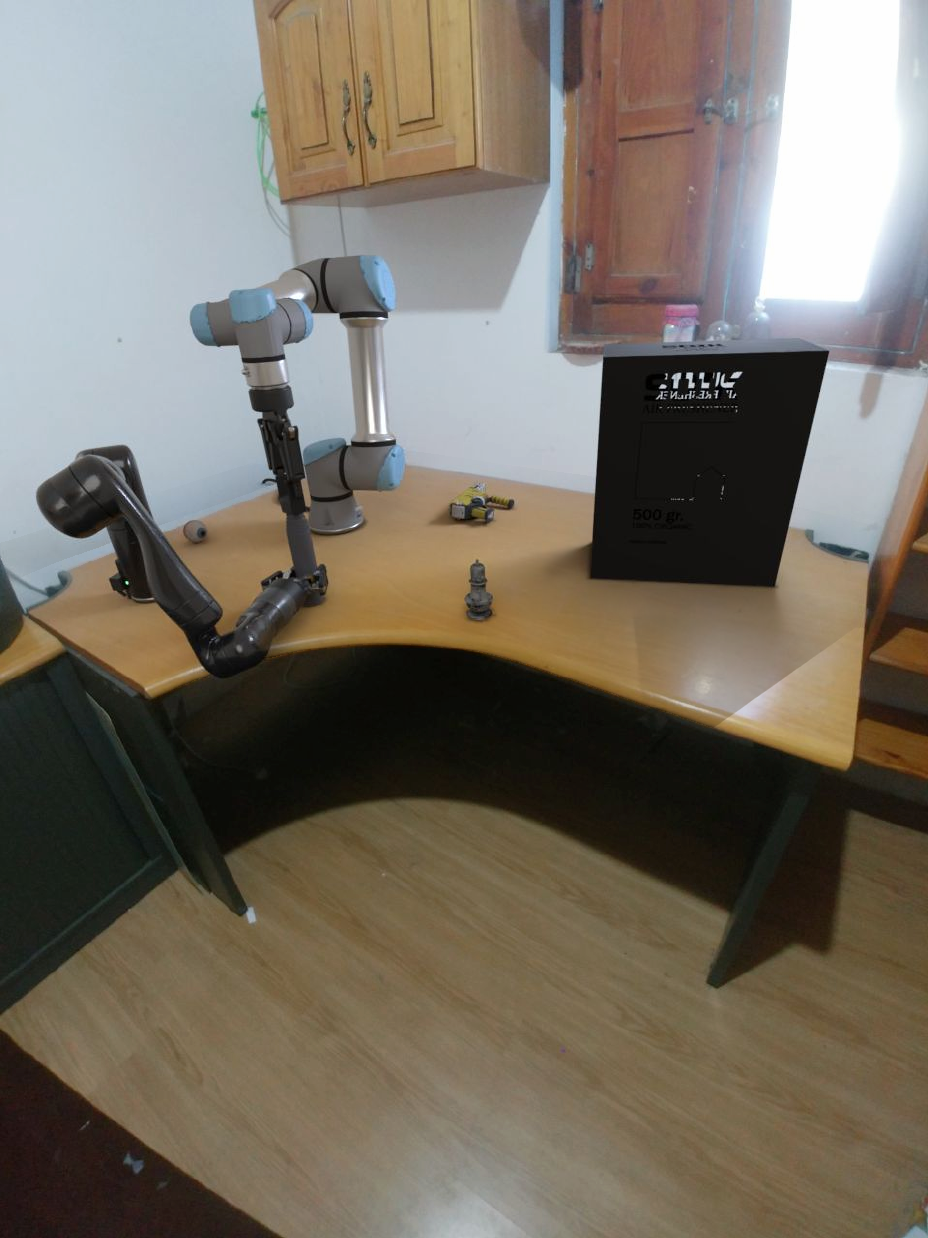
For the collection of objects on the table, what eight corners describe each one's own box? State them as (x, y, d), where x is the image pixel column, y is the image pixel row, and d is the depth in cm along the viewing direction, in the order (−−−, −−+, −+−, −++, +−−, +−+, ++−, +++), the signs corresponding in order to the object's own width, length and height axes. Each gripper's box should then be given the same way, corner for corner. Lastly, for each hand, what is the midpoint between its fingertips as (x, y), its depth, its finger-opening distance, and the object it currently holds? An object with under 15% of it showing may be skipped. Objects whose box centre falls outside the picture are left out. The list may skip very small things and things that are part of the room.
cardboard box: (755, 547, 142) (798, 337, 120) (774, 586, 125) (829, 350, 102) (592, 542, 150) (603, 344, 127) (589, 578, 133) (603, 356, 110)
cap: (308, 505, 122) (306, 493, 121) (302, 513, 118) (300, 501, 117) (285, 506, 122) (283, 494, 121) (279, 514, 118) (276, 502, 117)
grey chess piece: (491, 621, 118) (489, 566, 112) (462, 620, 120) (458, 565, 114) (496, 607, 123) (494, 553, 117) (468, 605, 124) (465, 552, 118)
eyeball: (196, 547, 160) (190, 526, 157) (181, 543, 163) (175, 522, 160) (215, 539, 164) (209, 518, 161) (200, 536, 167) (194, 515, 164)
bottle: (327, 601, 130) (308, 502, 119) (306, 608, 128) (285, 507, 116) (317, 593, 133) (298, 496, 122) (297, 600, 131) (276, 502, 120)
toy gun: (522, 487, 180) (475, 480, 184) (500, 511, 160) (447, 502, 164) (521, 502, 182) (474, 495, 186) (499, 527, 162) (447, 519, 166)
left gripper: (308, 589, 112) (340, 552, 126) (237, 586, 114) (277, 550, 129) (315, 624, 116) (345, 584, 130) (247, 620, 118) (284, 581, 133)
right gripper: (231, 384, 113) (259, 504, 124) (268, 394, 100) (295, 526, 112) (270, 378, 116) (293, 495, 128) (309, 387, 104) (331, 515, 116)
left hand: (311, 567), depth 129 cm, fingers closed on bottle, 4 cm apart
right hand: (294, 509), depth 120 cm, fingers closed on cap, 4 cm apart
